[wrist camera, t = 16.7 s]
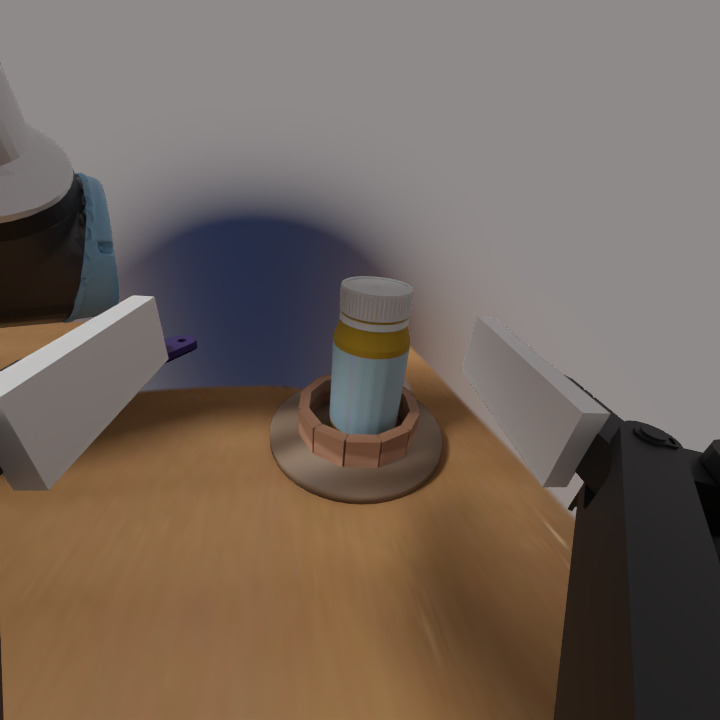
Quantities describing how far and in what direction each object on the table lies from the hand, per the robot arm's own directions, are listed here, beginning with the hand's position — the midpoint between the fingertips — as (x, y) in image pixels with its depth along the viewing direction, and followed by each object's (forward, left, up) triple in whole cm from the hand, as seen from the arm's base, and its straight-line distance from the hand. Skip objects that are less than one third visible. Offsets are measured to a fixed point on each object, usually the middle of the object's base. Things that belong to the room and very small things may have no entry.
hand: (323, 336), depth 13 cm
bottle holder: (-11, +10, -17) cm, 23 cm away
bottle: (-10, +10, -17) cm, 22 cm away
